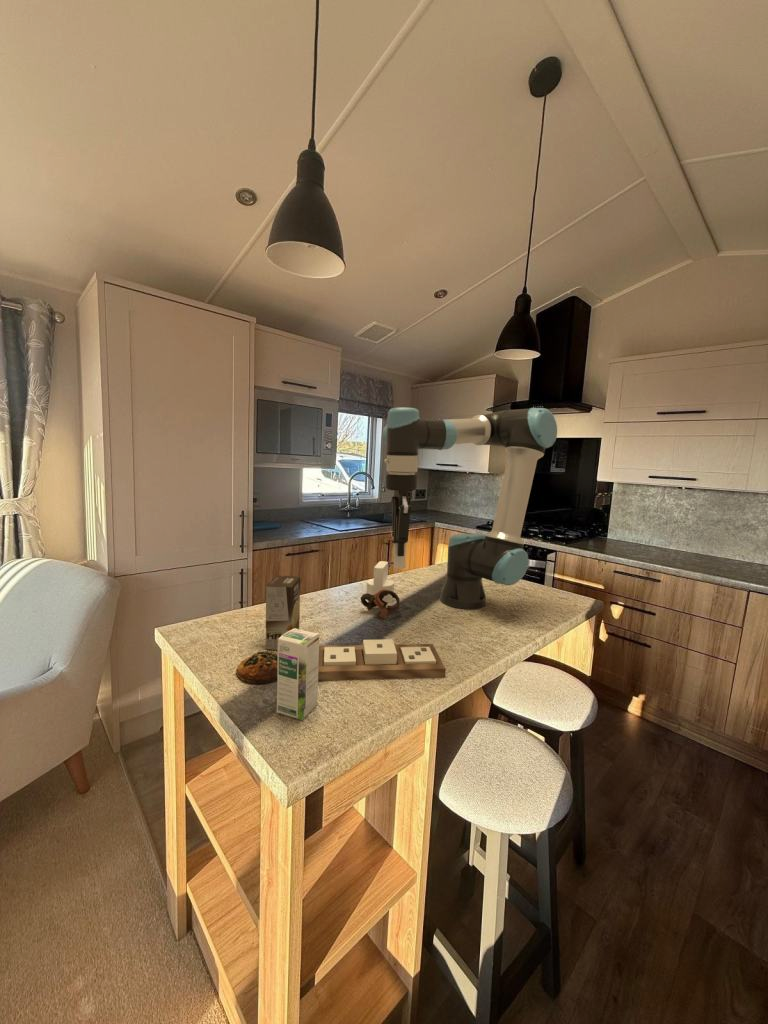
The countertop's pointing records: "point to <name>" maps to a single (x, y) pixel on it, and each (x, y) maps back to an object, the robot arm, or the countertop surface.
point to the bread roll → (259, 668)
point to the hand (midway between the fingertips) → (399, 567)
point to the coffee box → (281, 608)
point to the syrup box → (297, 673)
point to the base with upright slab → (380, 581)
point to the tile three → (417, 655)
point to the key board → (380, 667)
